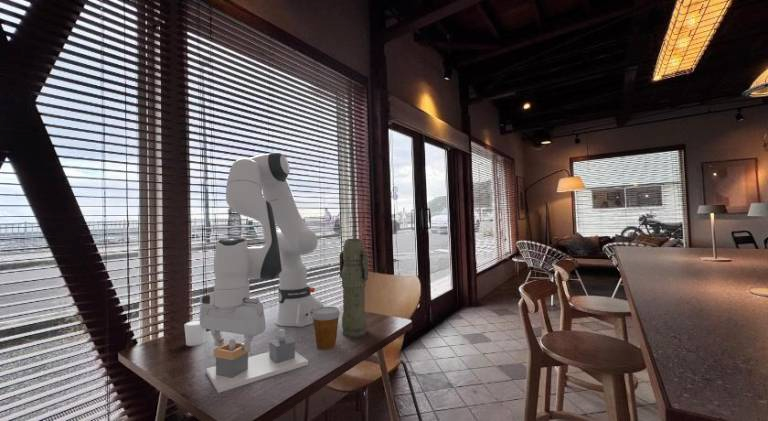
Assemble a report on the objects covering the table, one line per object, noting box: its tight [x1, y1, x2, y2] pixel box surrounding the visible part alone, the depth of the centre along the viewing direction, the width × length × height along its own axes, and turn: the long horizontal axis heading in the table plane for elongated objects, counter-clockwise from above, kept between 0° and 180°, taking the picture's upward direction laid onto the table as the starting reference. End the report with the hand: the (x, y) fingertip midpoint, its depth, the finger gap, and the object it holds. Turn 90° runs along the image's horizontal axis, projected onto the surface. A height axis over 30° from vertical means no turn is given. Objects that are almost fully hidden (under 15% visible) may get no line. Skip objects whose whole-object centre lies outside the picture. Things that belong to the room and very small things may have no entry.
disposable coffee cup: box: [311, 306, 341, 351], centre depth 110 cm, size 10×10×12 cm
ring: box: [213, 340, 251, 360], centre depth 90 cm, size 6×6×2 cm
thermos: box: [339, 238, 369, 339], centre depth 122 cm, size 9×12×35 cm
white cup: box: [183, 319, 207, 347], centre depth 115 cm, size 7×7×7 cm
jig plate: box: [205, 328, 309, 394], centre depth 94 cm, size 24×14×10 cm, turn 129°
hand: (232, 347), depth 90 cm, fingers open, 8 cm apart
